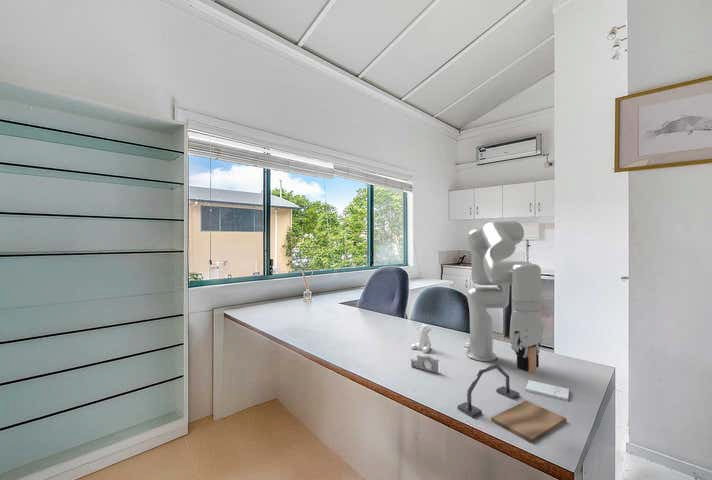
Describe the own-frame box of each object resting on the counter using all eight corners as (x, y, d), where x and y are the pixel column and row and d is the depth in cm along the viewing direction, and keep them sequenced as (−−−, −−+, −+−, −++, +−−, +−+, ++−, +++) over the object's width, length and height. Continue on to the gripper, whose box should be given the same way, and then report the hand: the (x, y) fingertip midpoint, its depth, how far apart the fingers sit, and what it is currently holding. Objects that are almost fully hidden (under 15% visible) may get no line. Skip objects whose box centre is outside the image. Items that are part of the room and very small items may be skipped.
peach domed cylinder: (516, 369, 93) (516, 345, 93) (524, 366, 95) (524, 342, 95) (531, 374, 89) (530, 349, 89) (539, 371, 92) (539, 347, 92)
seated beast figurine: (410, 348, 155) (409, 324, 155) (420, 344, 161) (420, 321, 161) (426, 353, 148) (425, 328, 148) (436, 349, 154) (436, 324, 154)
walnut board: (491, 420, 93) (491, 417, 93) (525, 403, 102) (525, 400, 102) (531, 443, 83) (531, 439, 83) (566, 421, 92) (566, 417, 92)
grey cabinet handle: (457, 408, 100) (456, 372, 100) (503, 388, 112) (502, 356, 112) (473, 417, 95) (472, 379, 95) (519, 395, 107) (518, 361, 107)
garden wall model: (410, 366, 133) (410, 352, 133) (412, 365, 135) (412, 351, 135) (437, 373, 126) (437, 358, 126) (439, 371, 128) (439, 357, 128)
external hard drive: (529, 383, 117) (569, 392, 110) (525, 392, 111) (568, 403, 103) (529, 379, 117) (569, 388, 110) (525, 388, 111) (568, 398, 103)
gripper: (530, 300, 100) (531, 358, 100) (497, 307, 91) (498, 370, 91) (555, 304, 94) (556, 365, 94) (522, 311, 85) (523, 379, 85)
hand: (527, 367), depth 92 cm, fingers closed on peach domed cylinder, 4 cm apart
